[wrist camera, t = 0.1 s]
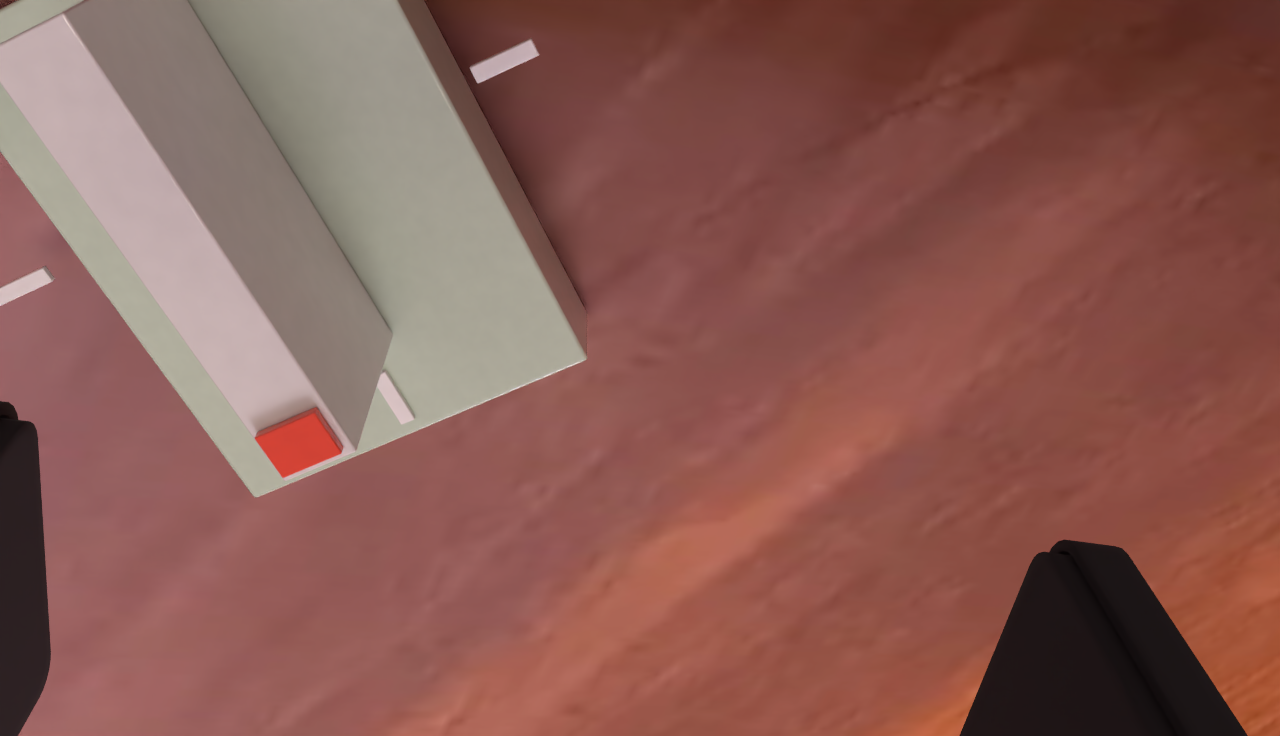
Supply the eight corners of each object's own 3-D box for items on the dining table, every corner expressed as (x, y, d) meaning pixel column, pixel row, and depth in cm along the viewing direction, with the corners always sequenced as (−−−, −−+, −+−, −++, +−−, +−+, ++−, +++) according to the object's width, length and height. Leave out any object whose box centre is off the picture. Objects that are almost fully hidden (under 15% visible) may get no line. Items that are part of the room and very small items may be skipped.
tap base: (-151, -6, 26) (-225, 20, 23) (390, -293, 24) (369, -295, 21) (209, 474, 32) (179, 534, 29) (665, 281, 30) (672, 328, 27)
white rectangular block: (92, -7, 23) (-29, 57, 19) (162, -42, 23) (56, 14, 18) (332, 361, 27) (281, 489, 23) (393, 334, 27) (354, 458, 22)
